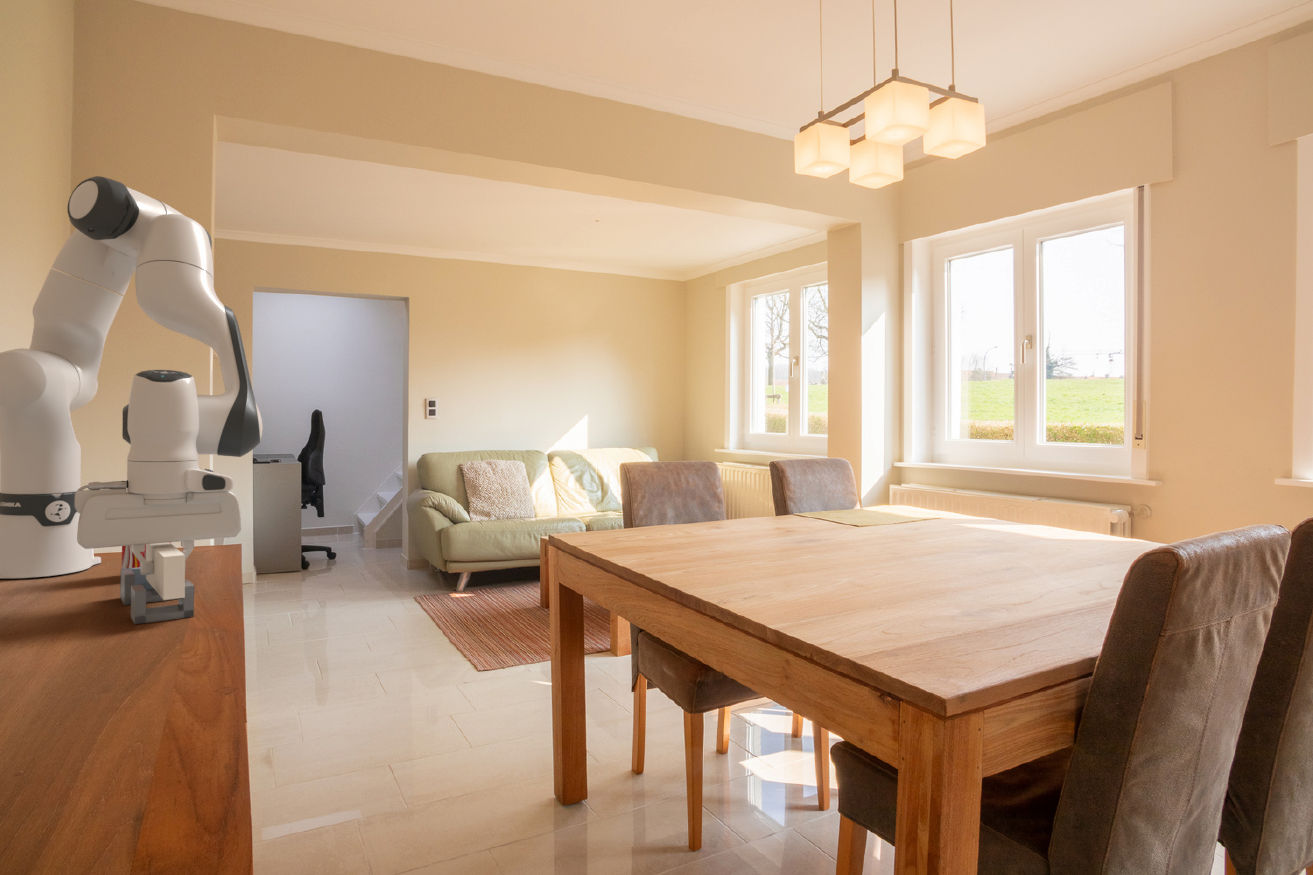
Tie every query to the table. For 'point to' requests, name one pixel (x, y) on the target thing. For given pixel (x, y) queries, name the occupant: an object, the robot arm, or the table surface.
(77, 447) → the robot arm
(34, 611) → the table surface
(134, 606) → the grey block holder
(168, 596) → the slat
